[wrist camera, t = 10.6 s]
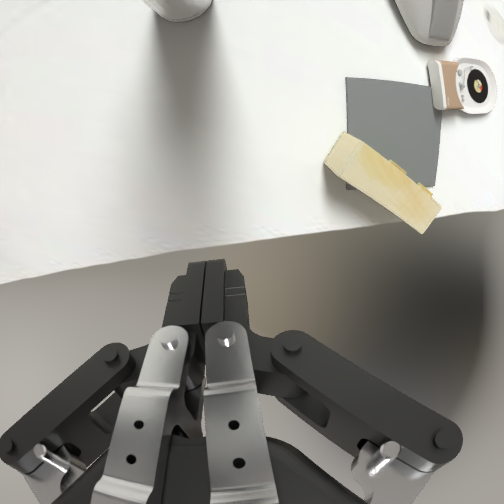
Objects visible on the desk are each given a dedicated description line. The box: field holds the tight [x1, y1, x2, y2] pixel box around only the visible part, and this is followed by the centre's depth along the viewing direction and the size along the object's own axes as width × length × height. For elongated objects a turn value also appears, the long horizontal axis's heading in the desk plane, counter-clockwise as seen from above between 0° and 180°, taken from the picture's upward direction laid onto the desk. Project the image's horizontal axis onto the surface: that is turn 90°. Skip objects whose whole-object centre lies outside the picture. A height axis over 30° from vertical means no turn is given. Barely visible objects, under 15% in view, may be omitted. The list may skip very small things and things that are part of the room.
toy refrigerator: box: [324, 132, 441, 234], centre depth 45 cm, size 8×7×21 cm
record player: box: [428, 58, 497, 114], centre depth 36 cm, size 12×3×20 cm
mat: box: [345, 77, 441, 190], centre depth 44 cm, size 20×20×1 cm
